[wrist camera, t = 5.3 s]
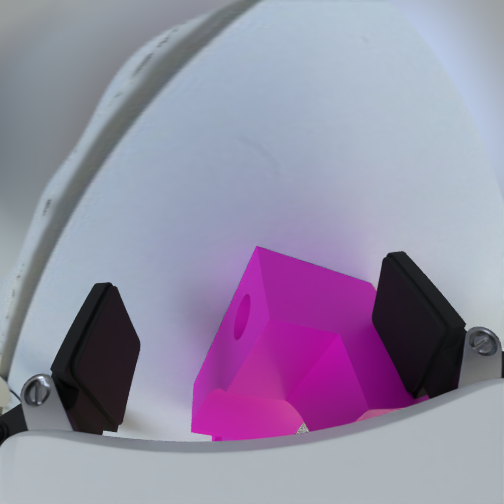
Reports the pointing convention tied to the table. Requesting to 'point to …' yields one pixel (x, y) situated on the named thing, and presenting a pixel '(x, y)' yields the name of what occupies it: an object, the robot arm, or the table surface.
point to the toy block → (295, 355)
